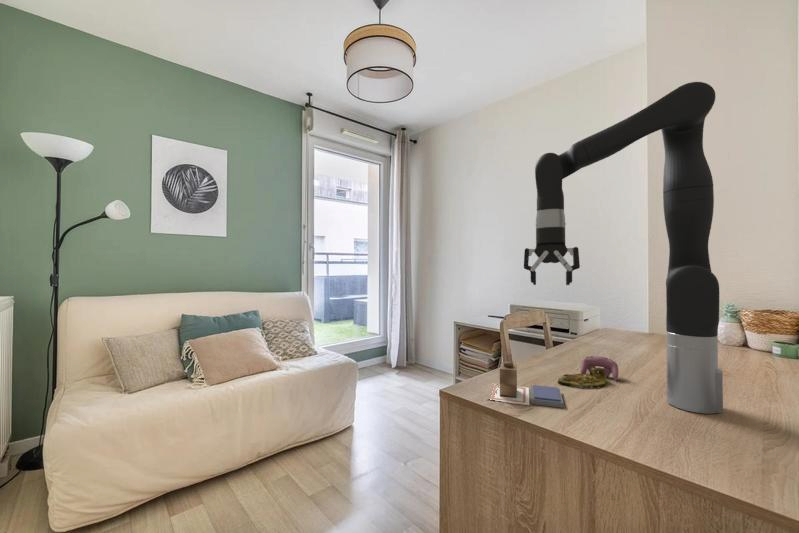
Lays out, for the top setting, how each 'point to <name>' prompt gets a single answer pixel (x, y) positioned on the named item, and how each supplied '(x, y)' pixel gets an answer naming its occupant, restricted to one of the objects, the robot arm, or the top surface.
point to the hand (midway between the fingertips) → (550, 284)
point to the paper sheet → (520, 399)
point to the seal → (585, 379)
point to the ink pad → (546, 396)
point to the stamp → (508, 379)
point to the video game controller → (602, 362)
